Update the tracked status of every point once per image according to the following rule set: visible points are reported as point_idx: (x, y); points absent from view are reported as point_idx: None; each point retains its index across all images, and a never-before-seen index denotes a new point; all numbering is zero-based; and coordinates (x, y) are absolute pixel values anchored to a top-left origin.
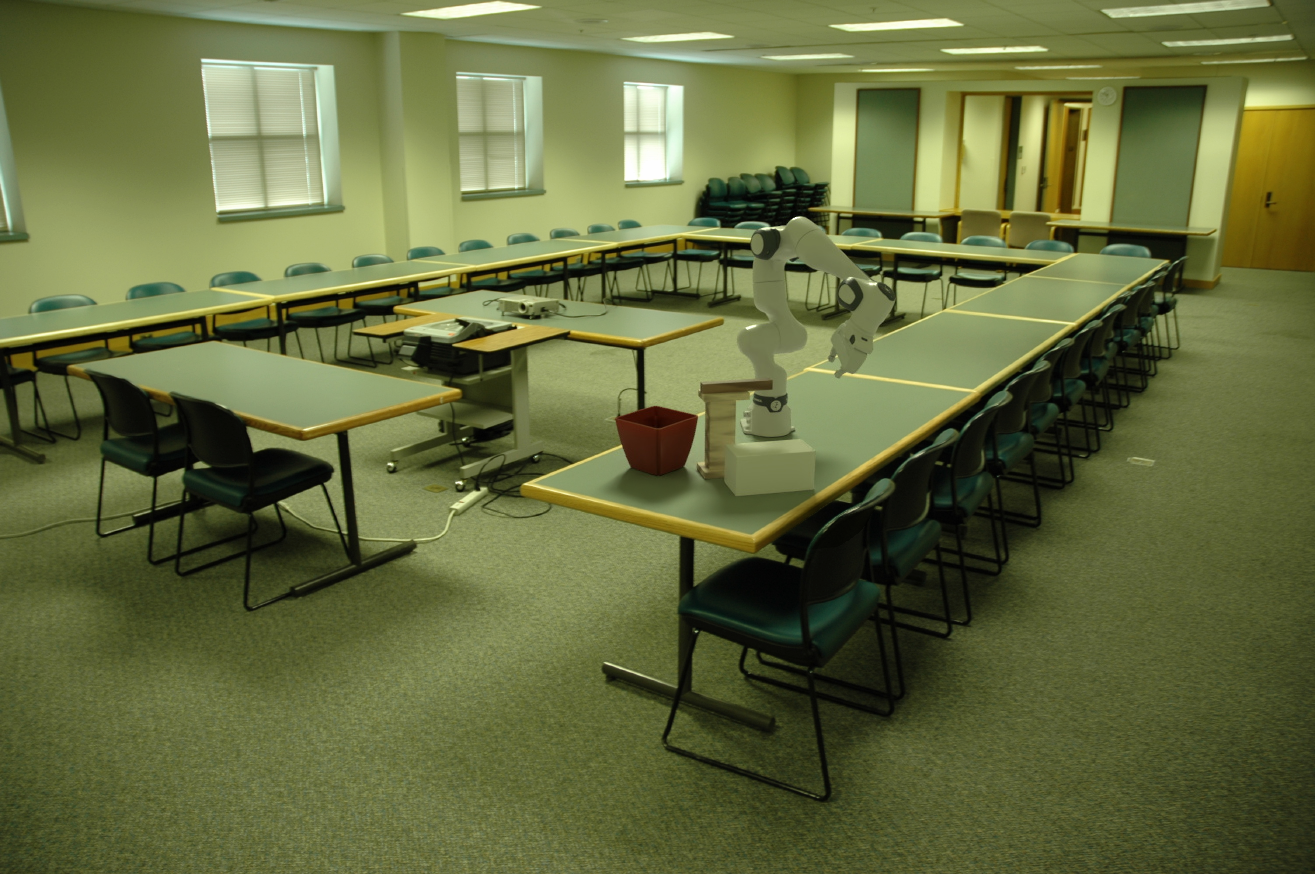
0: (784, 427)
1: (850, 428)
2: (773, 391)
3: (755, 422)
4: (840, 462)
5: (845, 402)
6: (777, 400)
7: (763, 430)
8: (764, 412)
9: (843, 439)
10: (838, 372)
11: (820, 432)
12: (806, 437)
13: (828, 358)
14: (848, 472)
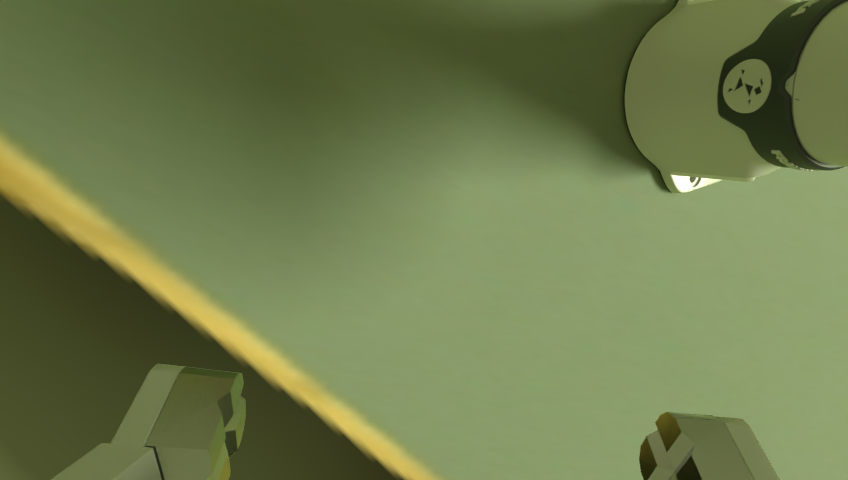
0: (658, 134)
1: (632, 385)
2: (827, 67)
3: (712, 10)
4: (288, 250)
5: (827, 422)
6: (770, 92)
7: (663, 41)
8: (735, 37)
9: (540, 334)
10: (92, 455)
11: (625, 275)
12: (593, 208)
13: (715, 431)
14: (146, 245)
